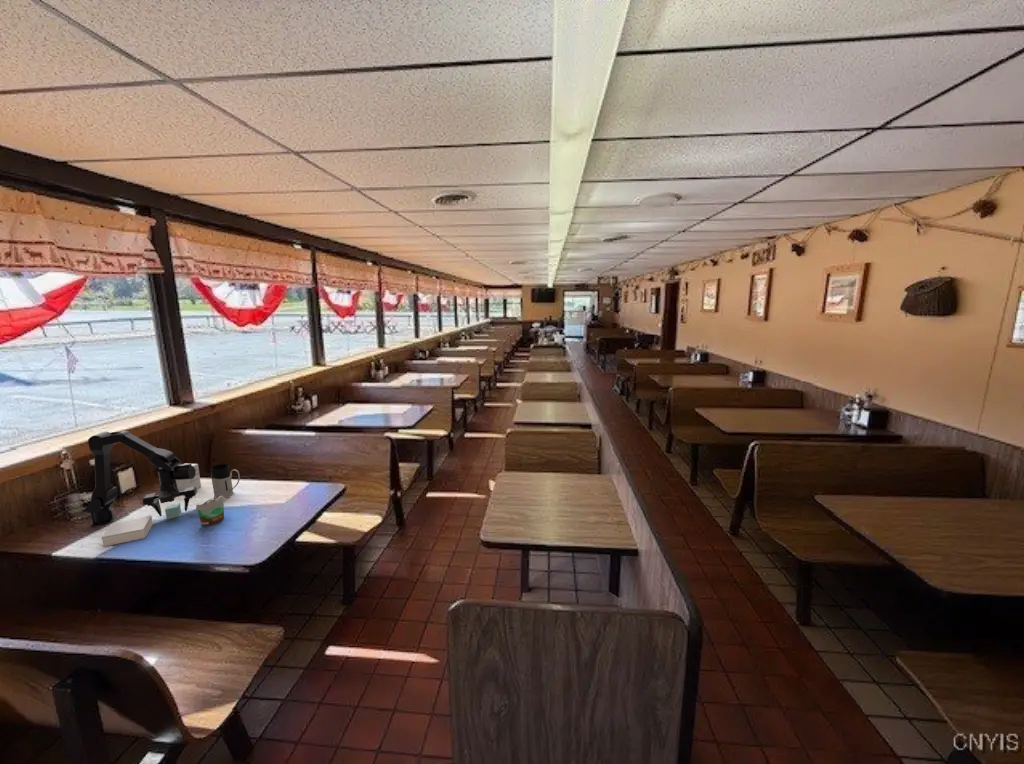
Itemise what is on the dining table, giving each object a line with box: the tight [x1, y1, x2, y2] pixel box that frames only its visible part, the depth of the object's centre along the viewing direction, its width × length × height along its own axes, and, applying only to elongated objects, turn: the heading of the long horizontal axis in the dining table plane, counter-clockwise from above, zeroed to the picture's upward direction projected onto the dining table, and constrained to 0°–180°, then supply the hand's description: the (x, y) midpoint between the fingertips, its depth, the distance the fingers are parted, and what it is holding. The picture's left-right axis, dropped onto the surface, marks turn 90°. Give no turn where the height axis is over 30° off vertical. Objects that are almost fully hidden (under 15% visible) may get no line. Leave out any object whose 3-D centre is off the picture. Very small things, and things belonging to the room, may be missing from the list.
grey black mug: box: [210, 463, 241, 499], centre depth 221 cm, size 9×14×15 cm, turn 82°
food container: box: [195, 494, 226, 527], centre depth 196 cm, size 12×6×10 cm, turn 168°
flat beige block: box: [101, 515, 154, 547], centre depth 187 cm, size 13×13×4 cm
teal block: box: [164, 502, 182, 520], centre depth 203 cm, size 5×5×5 cm
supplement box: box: [176, 463, 202, 491], centre depth 231 cm, size 7×7×13 cm
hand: (173, 513), depth 203 cm, fingers open, 9 cm apart
